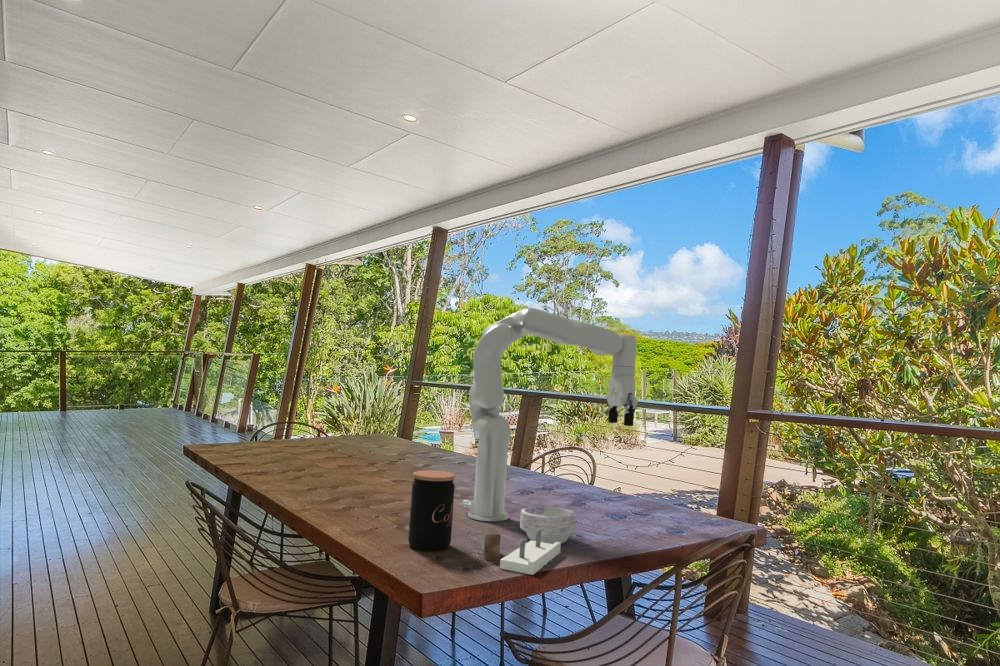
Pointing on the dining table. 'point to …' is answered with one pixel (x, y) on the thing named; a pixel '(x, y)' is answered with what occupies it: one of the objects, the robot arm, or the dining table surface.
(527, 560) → the white slotted base
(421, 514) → the coffee jar
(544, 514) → the paper bowls
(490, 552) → the wooden block
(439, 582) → the dining table surface
